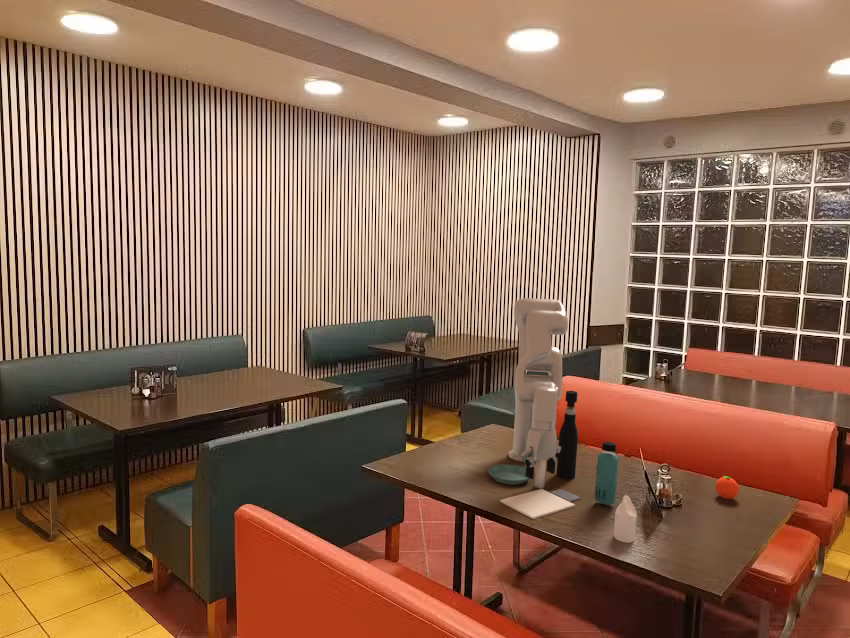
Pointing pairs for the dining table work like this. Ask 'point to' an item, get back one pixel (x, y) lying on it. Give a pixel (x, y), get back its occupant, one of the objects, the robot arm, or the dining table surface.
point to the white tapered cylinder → (625, 521)
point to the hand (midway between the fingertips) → (540, 475)
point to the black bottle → (568, 440)
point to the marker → (540, 474)
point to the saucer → (508, 474)
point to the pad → (537, 503)
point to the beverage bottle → (606, 475)
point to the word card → (565, 495)
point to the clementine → (726, 487)
